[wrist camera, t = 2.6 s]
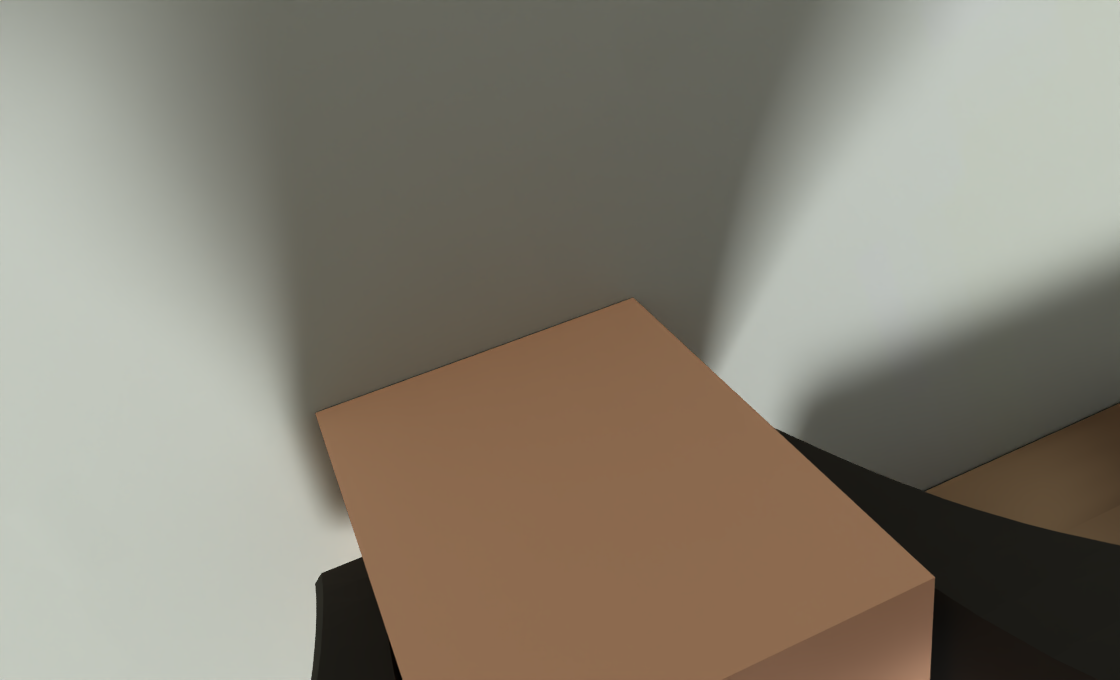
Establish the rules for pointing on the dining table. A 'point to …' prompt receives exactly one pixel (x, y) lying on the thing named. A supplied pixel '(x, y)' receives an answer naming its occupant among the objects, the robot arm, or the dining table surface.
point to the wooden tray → (1053, 481)
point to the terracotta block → (613, 523)
